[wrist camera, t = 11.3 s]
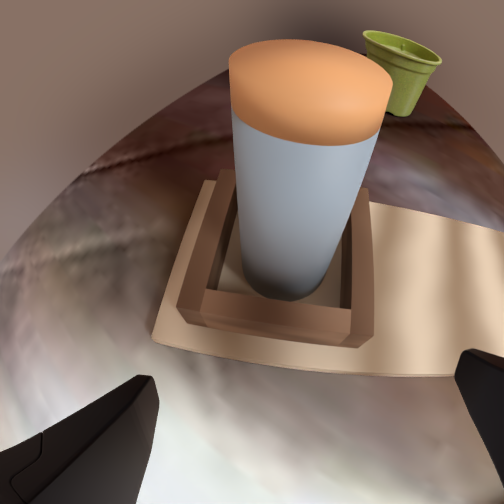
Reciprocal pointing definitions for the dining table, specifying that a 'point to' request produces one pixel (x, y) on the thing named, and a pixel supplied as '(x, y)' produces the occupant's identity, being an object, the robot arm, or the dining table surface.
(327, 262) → the orange-capped blue cylinder
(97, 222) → the dining table surface
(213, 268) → the jig
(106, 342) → the dining table surface
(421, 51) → the plant pot
